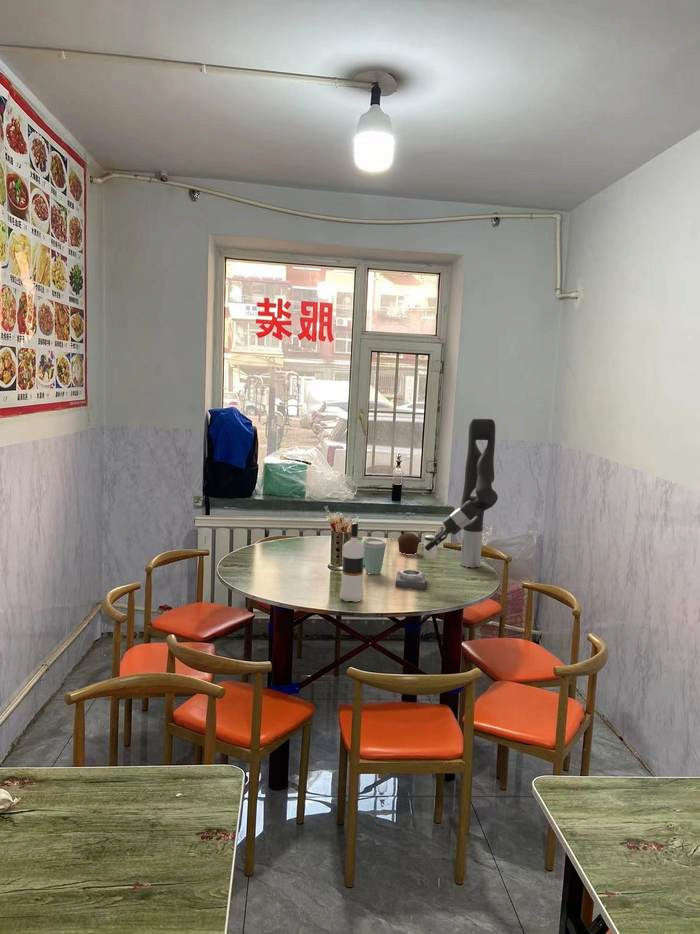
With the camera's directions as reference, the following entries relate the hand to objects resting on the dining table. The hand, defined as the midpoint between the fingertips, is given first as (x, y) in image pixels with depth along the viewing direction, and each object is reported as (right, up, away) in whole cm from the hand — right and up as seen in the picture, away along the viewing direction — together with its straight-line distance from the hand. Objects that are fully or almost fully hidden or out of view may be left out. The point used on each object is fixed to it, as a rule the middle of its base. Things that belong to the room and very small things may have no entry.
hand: (426, 547), depth 286 cm
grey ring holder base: (-6, -16, +2) cm, 17 cm away
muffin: (-3, -10, +56) cm, 57 cm away
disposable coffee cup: (-22, -14, +16) cm, 30 cm away
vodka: (-32, -18, -22) cm, 42 cm away
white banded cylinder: (+2, -4, 0) cm, 5 cm away
